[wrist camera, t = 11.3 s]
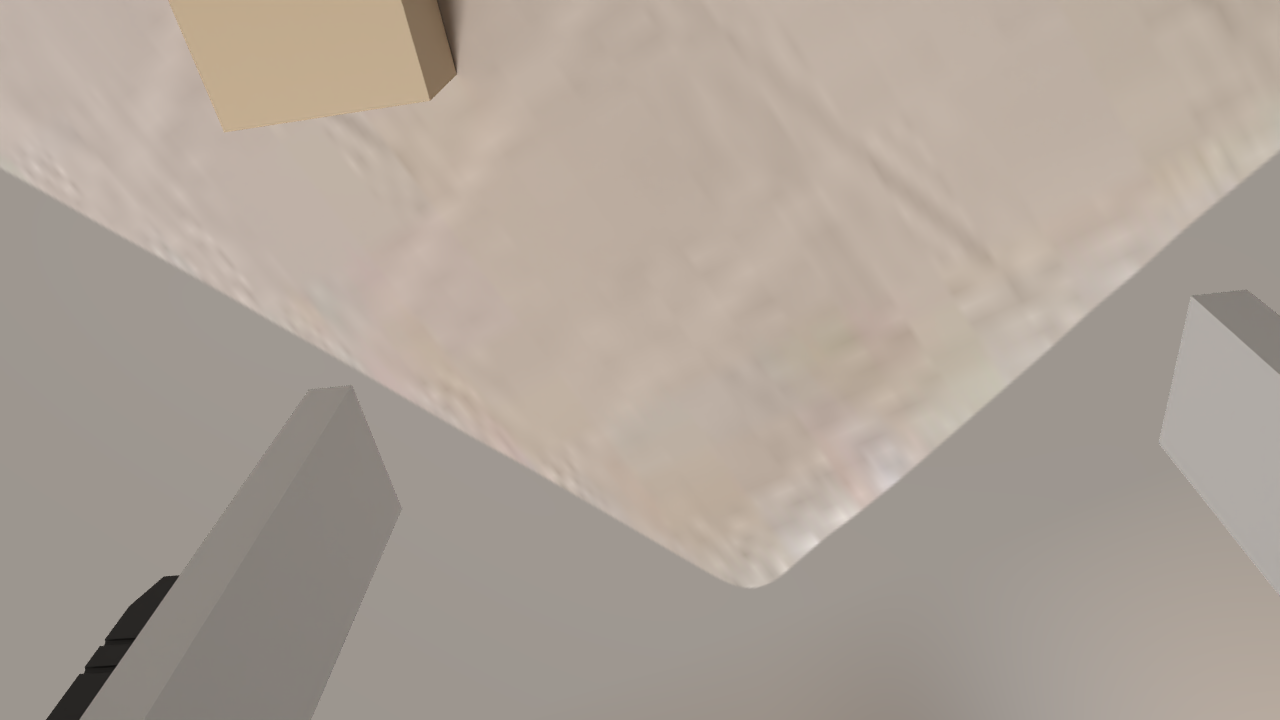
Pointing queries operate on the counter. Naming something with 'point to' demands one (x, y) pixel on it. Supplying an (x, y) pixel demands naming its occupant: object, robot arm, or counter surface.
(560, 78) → the counter surface
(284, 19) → the sleeve
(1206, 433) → the robot arm
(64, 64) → the counter surface
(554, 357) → the counter surface
